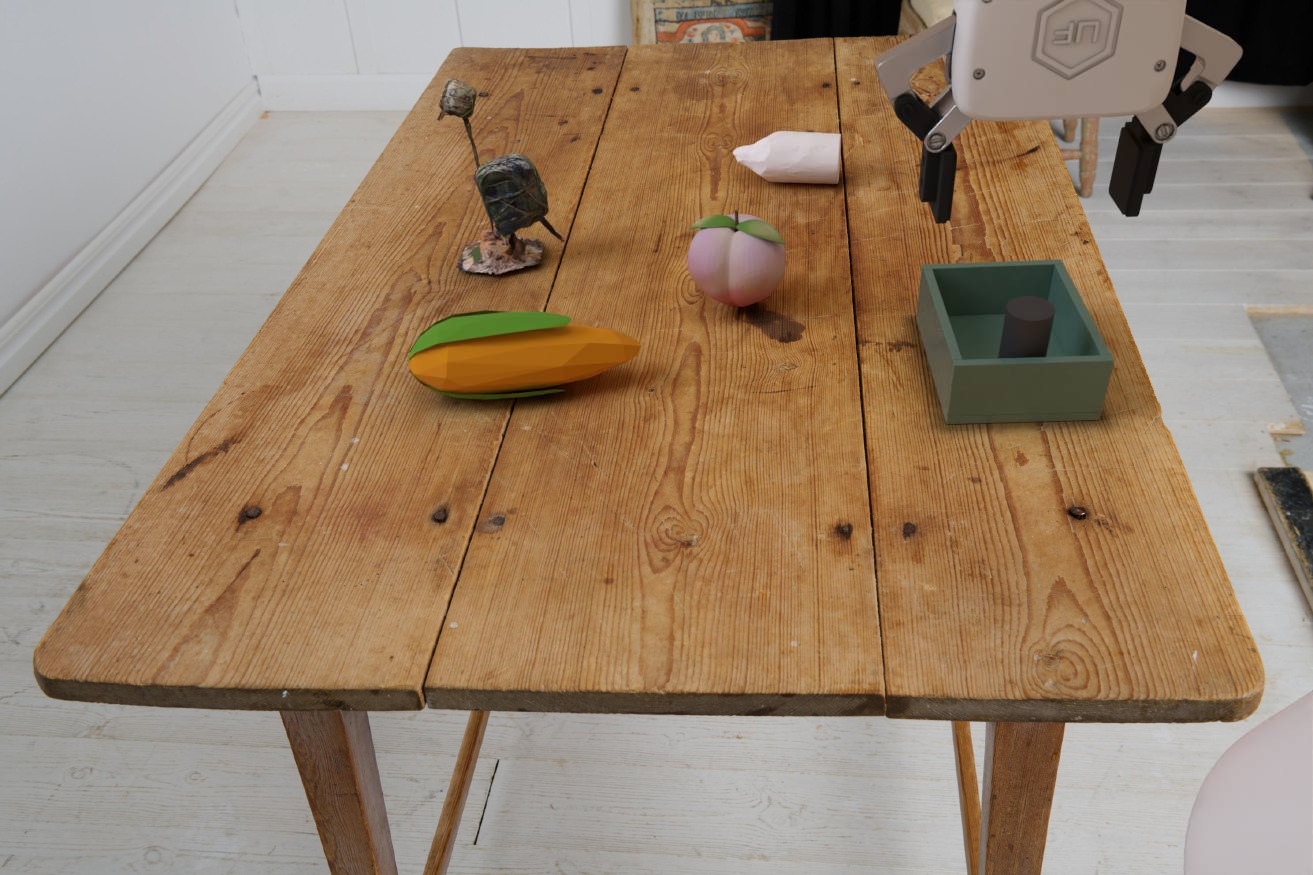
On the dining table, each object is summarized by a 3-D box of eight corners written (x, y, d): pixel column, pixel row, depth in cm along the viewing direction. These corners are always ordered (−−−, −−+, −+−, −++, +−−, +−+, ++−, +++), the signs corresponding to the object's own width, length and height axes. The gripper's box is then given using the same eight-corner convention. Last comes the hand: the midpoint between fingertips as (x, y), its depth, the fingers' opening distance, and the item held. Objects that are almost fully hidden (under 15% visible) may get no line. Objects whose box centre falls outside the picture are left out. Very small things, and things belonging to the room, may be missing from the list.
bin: (1099, 420, 85) (1114, 360, 81) (946, 424, 86) (954, 365, 82) (1050, 315, 97) (1061, 259, 93) (915, 319, 98) (921, 264, 94)
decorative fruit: (795, 287, 104) (798, 193, 97) (777, 332, 98) (778, 235, 91) (702, 277, 106) (699, 184, 100) (679, 321, 100) (674, 225, 94)
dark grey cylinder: (1032, 377, 89) (1048, 294, 84) (1043, 403, 86) (1060, 319, 81) (988, 378, 89) (1002, 296, 84) (997, 404, 86) (1012, 321, 81)
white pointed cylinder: (737, 167, 125) (736, 121, 122) (840, 169, 123) (842, 123, 120) (730, 190, 121) (729, 143, 117) (837, 193, 119) (839, 145, 115)
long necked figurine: (548, 285, 107) (520, 90, 94) (446, 274, 110) (405, 84, 97) (575, 246, 113) (553, 58, 100) (478, 237, 116) (444, 53, 103)
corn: (404, 297, 91) (636, 279, 91) (423, 366, 97) (642, 349, 96) (392, 350, 86) (639, 331, 86) (413, 420, 91) (645, 403, 91)
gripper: (898, -121, 44) (874, 248, 55) (1333, -148, 43) (1223, 236, 53) (878, -153, 50) (859, 186, 61) (1260, -177, 49) (1173, 174, 59)
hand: (1029, 209), depth 57 cm, fingers open, 9 cm apart
